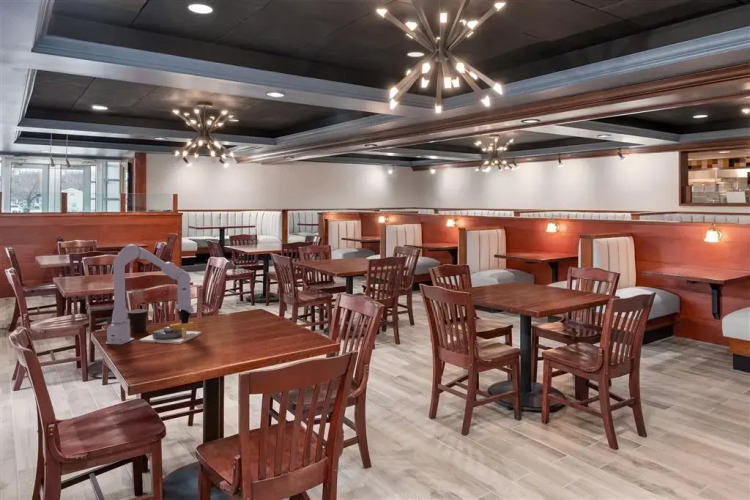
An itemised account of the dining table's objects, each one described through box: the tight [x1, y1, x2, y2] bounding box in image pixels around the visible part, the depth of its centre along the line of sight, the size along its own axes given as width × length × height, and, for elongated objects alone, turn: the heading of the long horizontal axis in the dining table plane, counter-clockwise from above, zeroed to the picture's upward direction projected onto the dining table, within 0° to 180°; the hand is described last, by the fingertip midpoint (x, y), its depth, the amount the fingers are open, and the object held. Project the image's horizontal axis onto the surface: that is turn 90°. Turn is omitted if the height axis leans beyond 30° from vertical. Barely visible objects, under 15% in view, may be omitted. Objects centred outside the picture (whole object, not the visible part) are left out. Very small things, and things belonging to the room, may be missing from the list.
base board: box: [139, 328, 202, 345], centre depth 245 cm, size 18×20×6 cm
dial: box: [151, 321, 194, 339], centre depth 245 cm, size 18×14×4 cm
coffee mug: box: [128, 308, 148, 334], centre depth 258 cm, size 12×9×10 cm
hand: (185, 325), depth 249 cm, fingers closed, pressing on dial
